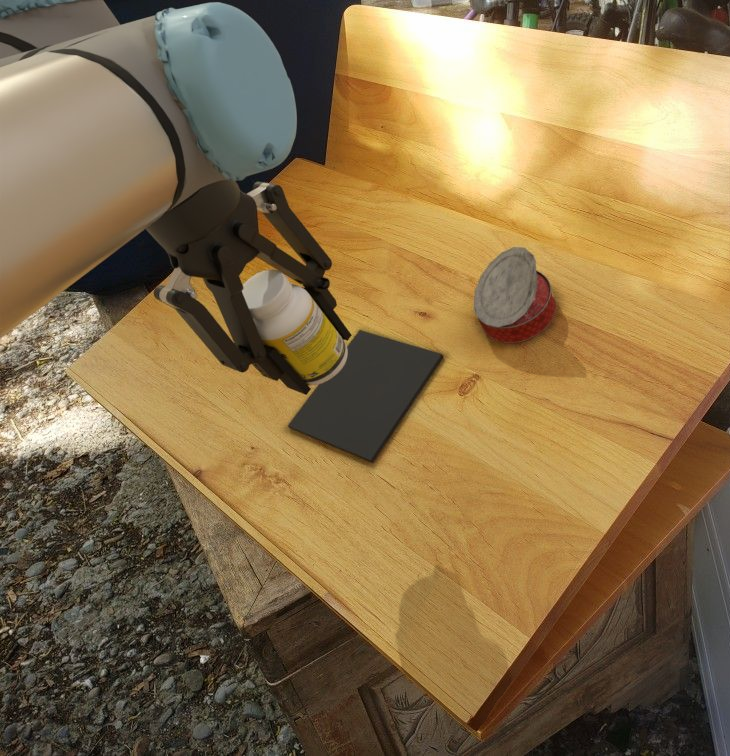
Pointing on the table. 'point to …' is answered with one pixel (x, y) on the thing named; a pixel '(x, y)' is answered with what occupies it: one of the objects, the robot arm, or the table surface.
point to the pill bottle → (295, 326)
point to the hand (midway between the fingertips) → (320, 360)
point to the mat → (366, 395)
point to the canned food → (514, 298)
